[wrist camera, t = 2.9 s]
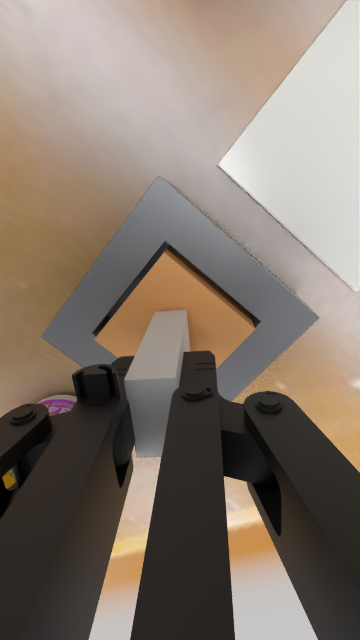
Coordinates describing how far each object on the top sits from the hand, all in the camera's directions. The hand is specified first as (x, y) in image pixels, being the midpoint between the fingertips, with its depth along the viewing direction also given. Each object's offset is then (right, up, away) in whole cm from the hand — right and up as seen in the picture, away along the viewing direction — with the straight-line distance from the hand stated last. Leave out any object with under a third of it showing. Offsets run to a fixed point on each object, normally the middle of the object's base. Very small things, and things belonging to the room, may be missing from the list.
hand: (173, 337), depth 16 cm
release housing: (0, +2, +5) cm, 6 cm away
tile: (+10, +10, +2) cm, 14 cm away
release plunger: (0, +1, +4) cm, 4 cm away
